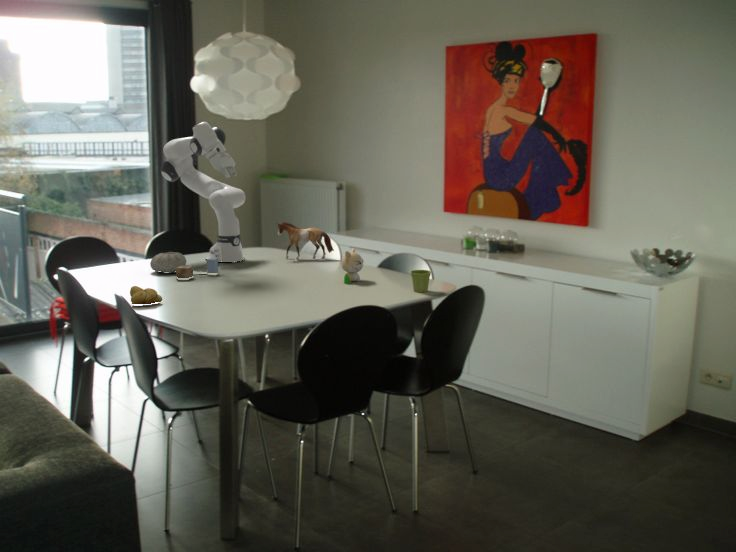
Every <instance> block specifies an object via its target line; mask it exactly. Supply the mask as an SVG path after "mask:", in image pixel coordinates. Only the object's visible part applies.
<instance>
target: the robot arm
mask: <svg viewBox="0 0 736 552" xmlns="http://www.w3.org/2000/svg"><path fill="white" fill-rule="evenodd" d="M192 132H193V135H192V136H187V137H180V138H179V137H178V138H174V139H171V140H170V141H168V142H167V143H166V144H164V146H163V150H162V151H163V155H164V157H165V158H166V159H165V161H162V165H161V167H160V174H161V176H162V177H163V179H165V180H167V181H168V182H170V183H171V182H172V183H174V182H176V181H178V179H179V178H180V182H181V183H182V184H183V185H184V186H185V187H187V189H189V190H191V191H192V192H194V193H196V194H198V195H199V196H201V197H203V198H205V199H207V200H208V203H209V206H210V207H211V208H212V209H213V211H214V213H215V215H216V219H217V223H218V224H217V226H218V235H215V236H216V237H215V238H216V243H215V244H213V245H212V246H211V247H210V249H209V256H207V257H205V258H206V259H209V258H218V262H221V261H222V262H232V263H237V262H236V261H240V262H243V261H244V260H245V259H244V258H245V256H244V251H243V246H242V243H241V241H242V236H241V234H240V233H241V231H240V220H239V218H237V216H236V213H235V211H234V210H235V209H237V208H239V207H241V206H243V205H244V203H245V201H246V198H247V197H246V193H245V191H244V190H242V189H241V188H237V187H234V186H232V185H230V184H226V183H223V182H221V181H218V180H217V179H214V178H212V177H210V176H208V175H207V174H205V173H203V172H201V171H200V170H198V169H196V168H195V166H196V165H197V163H198V162H197V156H199V157H200V156H203V155H205V156H204V157H205V159H206V160H208V161H209V163H210V164H211V166H212V167H213V168H214V170H215V171H217V172H221V173H222V174H223V175H224V176H225V178H227V179H229V178H230V177H231V176H232V177H236V176H237V175H238V173H237V172H236V169H235V167H236V165H237V164H236V162H235V160H234V159H233V157H232V156H231V155H230V154H229V153H228V152H226V151H227V149H226V147H225V146H224V145H225V143H226V138H227V136H226V132H224V131H223V129H221V128H219V127H216V126H213V127H212V126H211V125H210V124H209V123H208V122H207V121H202V122H200V123H198V124H195V125H193V127H192ZM227 170H229V171H230V172H231V174H230V173H229V172H228V171H227ZM208 257H209V258H208ZM242 260H243V261H242ZM234 261H235V262H234Z"/></svg>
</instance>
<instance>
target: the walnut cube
mask: <svg viewBox="0 0 736 552" xmlns="http://www.w3.org/2000/svg"><path fill="white" fill-rule="evenodd" d="M193 271H194V266H193V265H186V266H180V267H177V268H176V272H175V273H176V278H177V277H178V278H189V277H192V276H194V275H195V274H193Z"/></svg>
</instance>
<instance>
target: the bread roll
mask: <svg viewBox="0 0 736 552" xmlns="http://www.w3.org/2000/svg"><path fill="white" fill-rule="evenodd" d="M129 294H130V302H132V303H131V305H132V304H151V303H155V302H161V301H162V302H163V297H162V295H160V294H158V292H157V290H156V289H153V288H149V287H148V288H145V289H144V288H142V287H139V286H136V285H134V286H131V288H130V291H129ZM162 302H161V303H162Z"/></svg>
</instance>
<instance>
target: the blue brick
mask: <svg viewBox="0 0 736 552" xmlns="http://www.w3.org/2000/svg"><path fill="white" fill-rule="evenodd" d="M206 271H207V273H218V274H219V263H218V258H209V259H207V260H206Z"/></svg>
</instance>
